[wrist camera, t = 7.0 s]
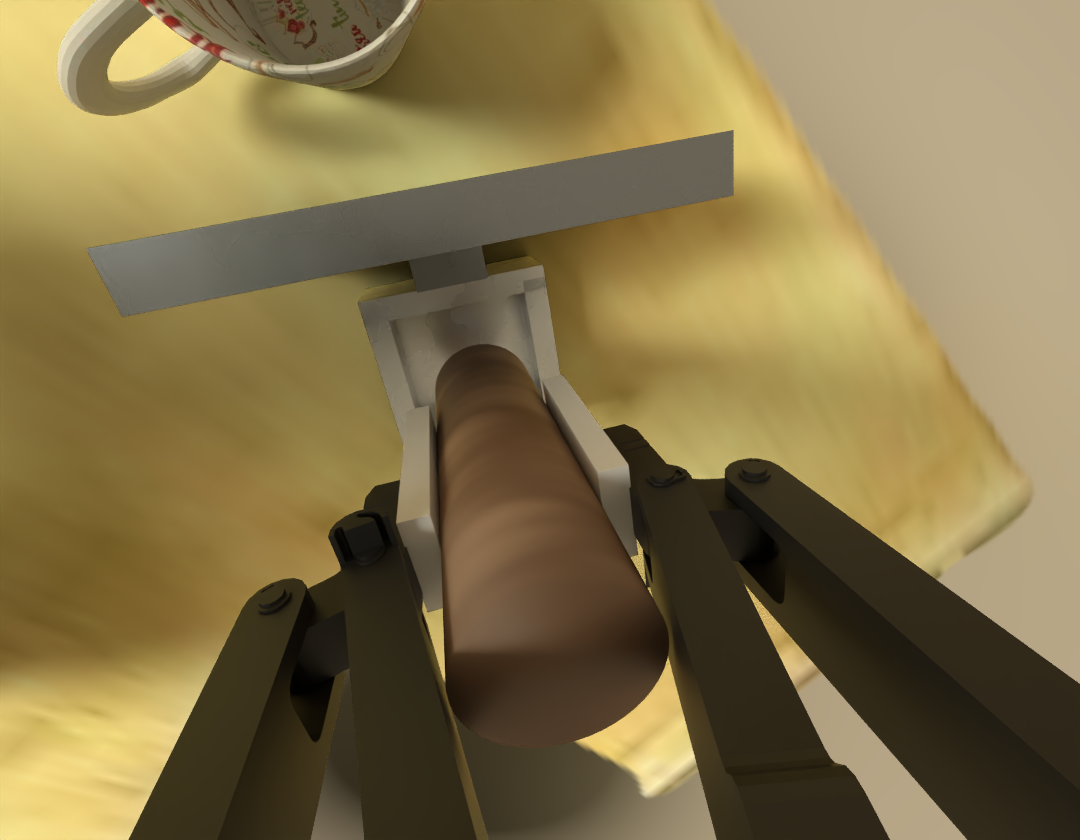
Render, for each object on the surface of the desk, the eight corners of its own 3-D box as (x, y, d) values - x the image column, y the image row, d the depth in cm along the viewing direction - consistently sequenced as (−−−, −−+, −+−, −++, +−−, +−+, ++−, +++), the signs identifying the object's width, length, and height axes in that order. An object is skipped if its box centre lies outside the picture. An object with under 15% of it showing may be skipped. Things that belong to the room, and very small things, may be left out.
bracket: (337, 452, 28) (282, 620, 17) (247, 220, 22) (86, 248, 12) (620, 385, 29) (733, 497, 19) (596, 156, 24) (733, 130, 14)
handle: (448, 443, 22) (474, 771, 10) (423, 356, 20) (417, 618, 8) (537, 422, 23) (674, 709, 10) (521, 334, 21) (662, 551, 8)
